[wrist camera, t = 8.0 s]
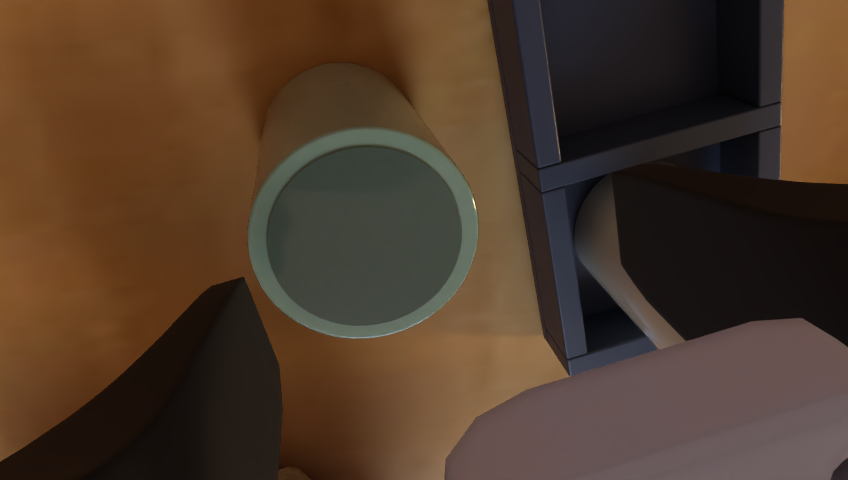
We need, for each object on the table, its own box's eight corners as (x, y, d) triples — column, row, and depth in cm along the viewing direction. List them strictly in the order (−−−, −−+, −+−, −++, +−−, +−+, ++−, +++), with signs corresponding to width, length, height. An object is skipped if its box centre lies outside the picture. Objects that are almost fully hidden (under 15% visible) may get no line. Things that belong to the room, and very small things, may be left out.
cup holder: (733, 280, 27) (777, 314, 24) (543, 337, 26) (569, 377, 24) (728, -152, 20) (789, -166, 17) (472, -89, 19) (498, -94, 17)
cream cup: (703, 263, 25) (867, 391, 18) (581, 299, 25) (699, 444, 18) (699, 141, 23) (884, 231, 16) (565, 179, 23) (691, 288, 16)
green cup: (431, 190, 23) (497, 306, 15) (290, 229, 22) (289, 366, 15) (398, 44, 20) (456, 99, 13) (240, 85, 20) (211, 164, 13)
